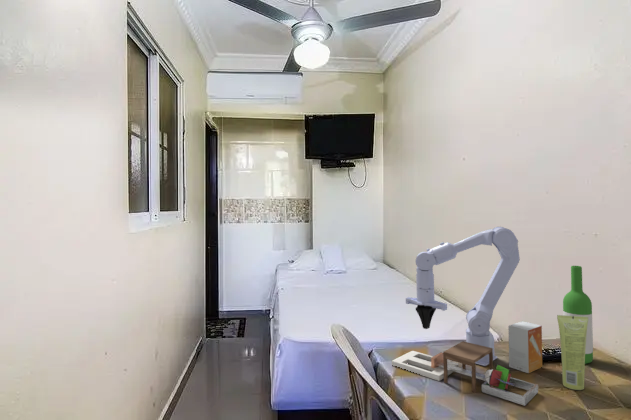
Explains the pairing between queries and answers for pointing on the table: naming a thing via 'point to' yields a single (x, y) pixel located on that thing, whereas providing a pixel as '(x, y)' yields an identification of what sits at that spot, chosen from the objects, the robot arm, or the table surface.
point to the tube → (573, 349)
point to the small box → (525, 346)
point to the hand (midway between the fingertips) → (426, 328)
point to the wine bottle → (580, 307)
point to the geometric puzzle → (499, 377)
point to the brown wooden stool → (467, 358)
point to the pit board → (421, 365)
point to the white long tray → (486, 388)
